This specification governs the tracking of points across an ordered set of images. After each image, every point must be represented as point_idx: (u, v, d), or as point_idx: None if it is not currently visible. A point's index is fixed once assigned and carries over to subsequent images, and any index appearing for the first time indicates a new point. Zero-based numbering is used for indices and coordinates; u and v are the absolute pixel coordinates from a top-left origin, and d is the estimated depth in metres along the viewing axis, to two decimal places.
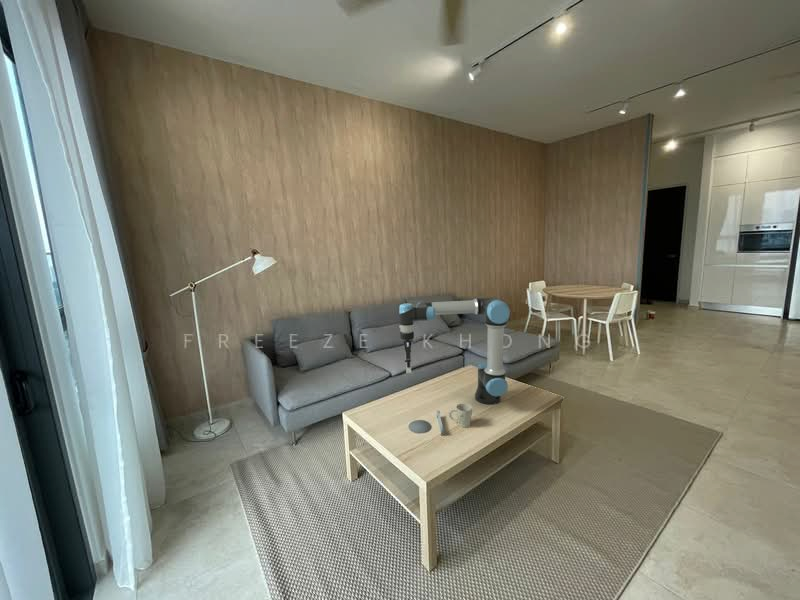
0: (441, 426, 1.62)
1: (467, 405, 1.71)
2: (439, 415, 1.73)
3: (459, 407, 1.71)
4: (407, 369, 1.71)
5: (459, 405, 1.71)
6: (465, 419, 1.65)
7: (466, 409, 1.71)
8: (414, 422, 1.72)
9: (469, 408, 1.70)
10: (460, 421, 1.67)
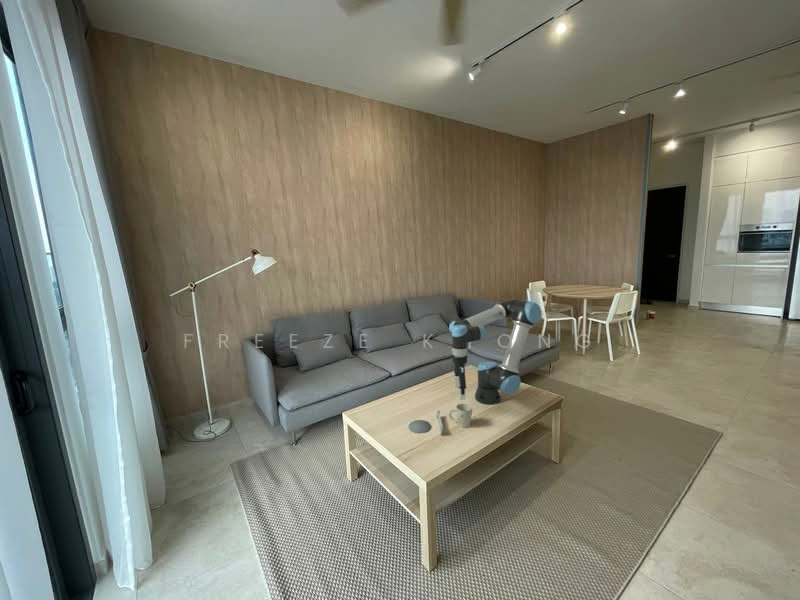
0: (441, 426, 1.62)
1: (467, 405, 1.71)
2: (439, 415, 1.73)
3: (459, 407, 1.71)
4: (461, 396, 1.59)
5: (459, 405, 1.71)
6: (465, 419, 1.65)
7: (466, 409, 1.71)
8: (414, 422, 1.72)
9: (469, 408, 1.70)
10: (460, 421, 1.67)
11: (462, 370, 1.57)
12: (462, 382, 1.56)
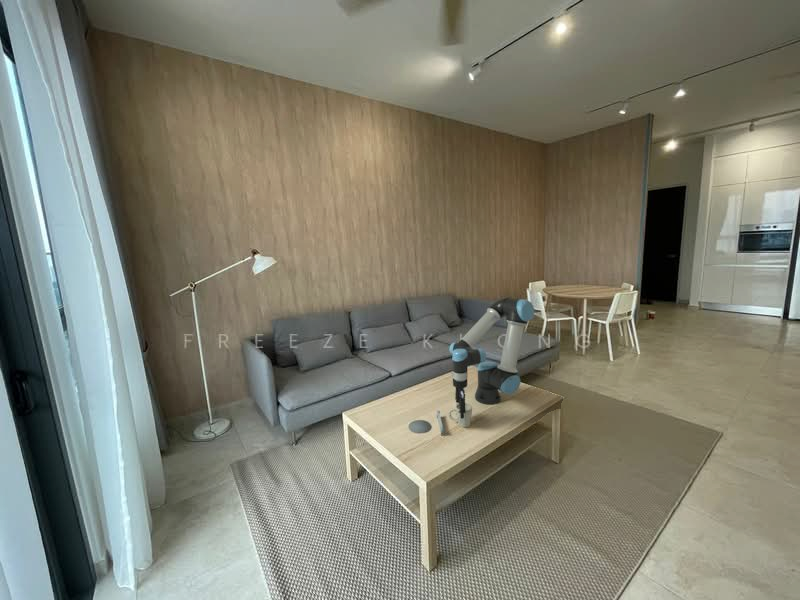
0: (441, 426, 1.62)
1: (467, 405, 1.71)
2: (439, 415, 1.73)
3: None
4: (460, 420, 1.64)
5: None
6: (465, 418, 1.65)
7: (466, 409, 1.71)
8: (414, 422, 1.72)
9: (469, 408, 1.70)
10: None
11: (462, 396, 1.60)
12: (462, 407, 1.60)
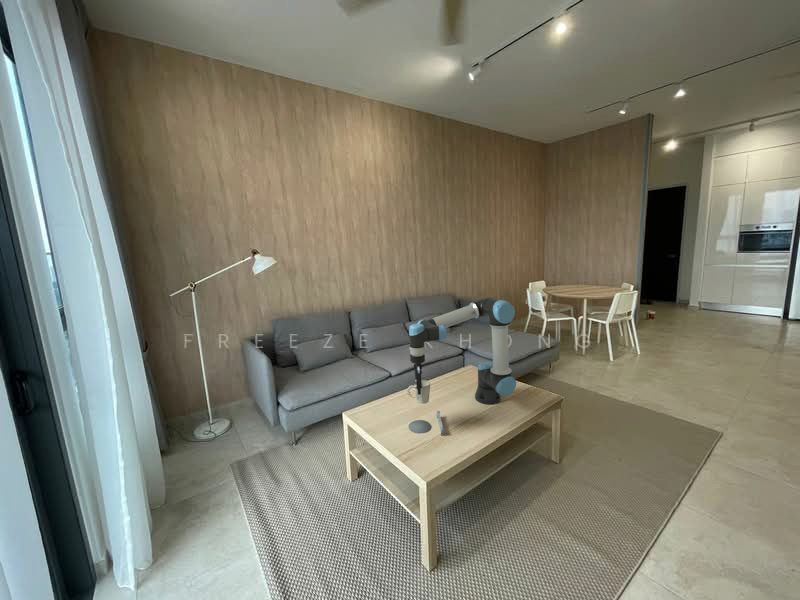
0: (441, 426, 1.62)
1: (426, 381, 1.68)
2: (439, 415, 1.73)
3: None
4: (418, 396, 1.61)
5: None
6: (422, 395, 1.62)
7: (425, 386, 1.68)
8: (414, 422, 1.72)
9: (428, 384, 1.67)
10: None
11: (418, 371, 1.56)
12: (418, 383, 1.57)
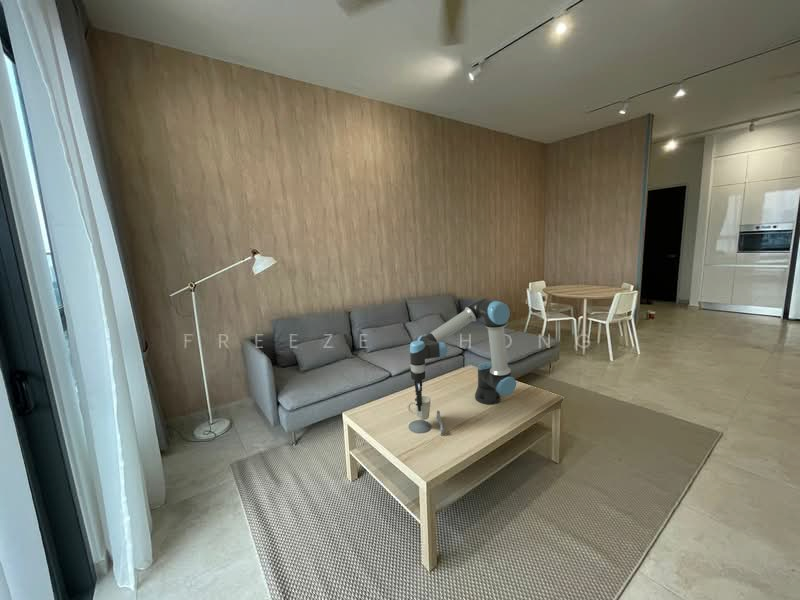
0: (441, 426, 1.62)
1: (426, 398, 1.69)
2: (439, 415, 1.73)
3: None
4: (418, 412, 1.62)
5: None
6: (423, 411, 1.63)
7: (425, 402, 1.70)
8: (414, 422, 1.72)
9: (428, 400, 1.68)
10: None
11: (419, 388, 1.58)
12: (418, 400, 1.58)
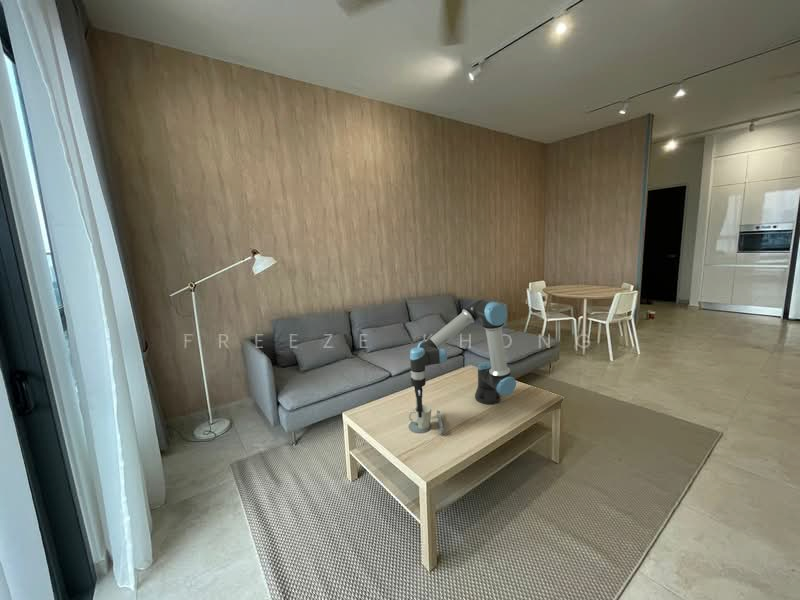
0: (441, 426, 1.62)
1: (427, 407, 1.70)
2: (439, 415, 1.73)
3: None
4: (418, 419, 1.60)
5: None
6: (423, 421, 1.64)
7: (426, 411, 1.70)
8: (414, 422, 1.72)
9: (429, 410, 1.69)
10: (419, 423, 1.66)
11: (419, 393, 1.58)
12: (419, 405, 1.57)
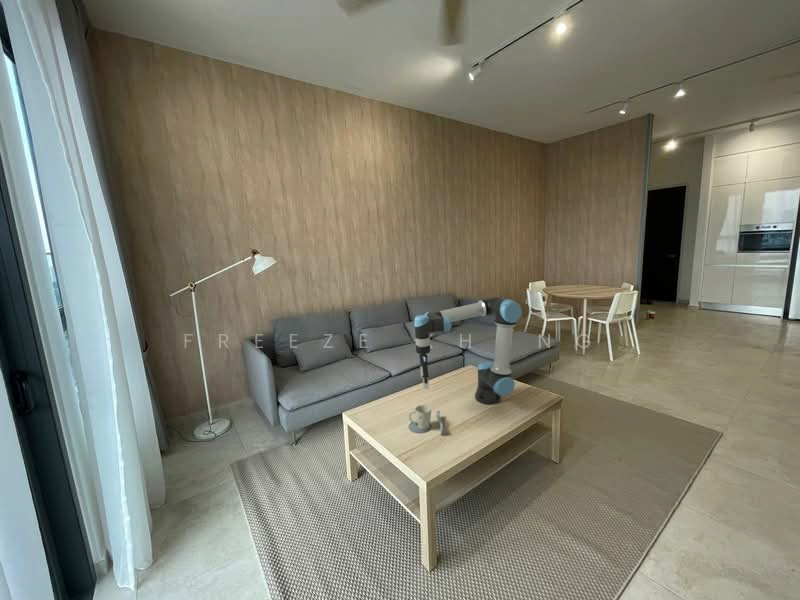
0: (441, 426, 1.62)
1: (427, 407, 1.70)
2: (439, 415, 1.73)
3: (419, 409, 1.70)
4: (424, 385, 1.62)
5: (419, 407, 1.70)
6: (423, 421, 1.64)
7: (426, 411, 1.70)
8: (414, 422, 1.72)
9: (429, 410, 1.69)
10: (419, 423, 1.66)
11: (424, 359, 1.60)
12: (424, 371, 1.59)
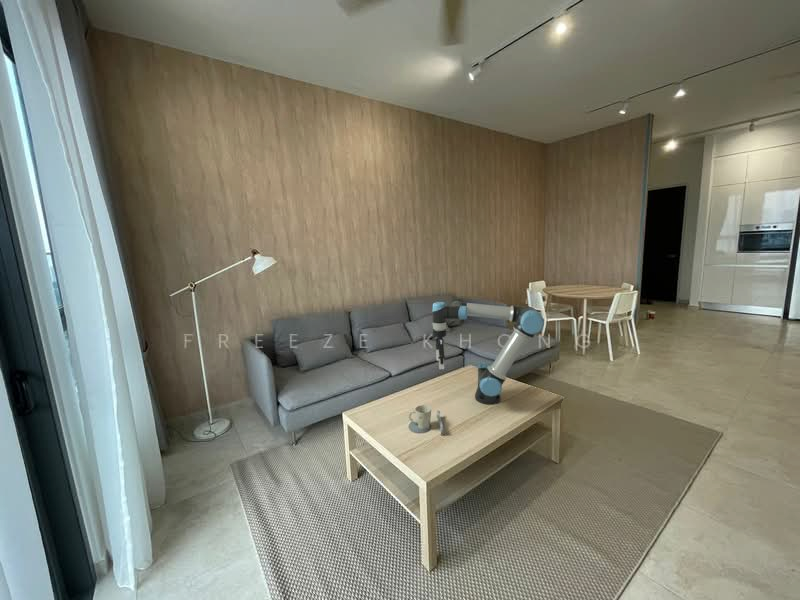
0: (441, 426, 1.62)
1: (427, 407, 1.70)
2: (439, 415, 1.73)
3: (419, 409, 1.70)
4: (440, 365, 1.77)
5: (419, 407, 1.70)
6: (423, 421, 1.64)
7: (426, 411, 1.70)
8: (414, 422, 1.72)
9: (429, 410, 1.69)
10: (419, 423, 1.66)
11: (441, 342, 1.75)
12: (441, 352, 1.73)
